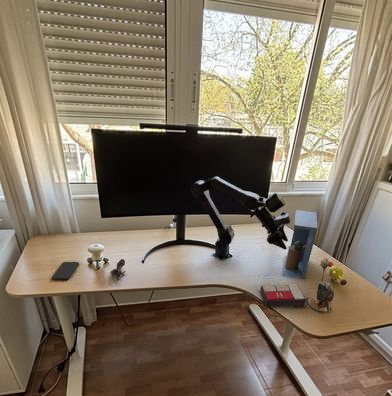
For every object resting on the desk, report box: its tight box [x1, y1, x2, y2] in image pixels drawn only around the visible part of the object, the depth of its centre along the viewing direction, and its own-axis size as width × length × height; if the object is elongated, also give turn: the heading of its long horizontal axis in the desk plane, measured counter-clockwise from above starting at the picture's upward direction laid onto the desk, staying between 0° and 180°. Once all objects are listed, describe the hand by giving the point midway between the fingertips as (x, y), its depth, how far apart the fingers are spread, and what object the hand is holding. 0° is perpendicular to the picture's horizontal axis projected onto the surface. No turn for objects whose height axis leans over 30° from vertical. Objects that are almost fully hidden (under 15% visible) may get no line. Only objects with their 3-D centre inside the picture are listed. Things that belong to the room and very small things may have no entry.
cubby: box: [283, 209, 319, 280], centre depth 133 cm, size 9×21×24 cm, turn 162°
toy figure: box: [327, 261, 348, 286], centre depth 128 cm, size 18×6×7 cm, turn 178°
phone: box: [51, 261, 80, 281], centre depth 129 cm, size 7×1×15 cm
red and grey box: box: [259, 283, 307, 308], centre depth 115 cm, size 11×4×15 cm
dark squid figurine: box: [109, 258, 126, 281], centre depth 127 cm, size 8×7×9 cm
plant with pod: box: [306, 257, 335, 313], centre depth 107 cm, size 8×11×20 cm
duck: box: [284, 241, 306, 270], centre depth 135 cm, size 7×6×14 cm
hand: (286, 245), depth 134 cm, fingers open, 9 cm apart
